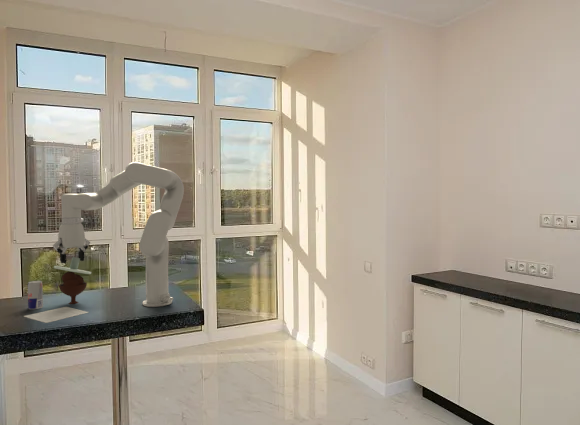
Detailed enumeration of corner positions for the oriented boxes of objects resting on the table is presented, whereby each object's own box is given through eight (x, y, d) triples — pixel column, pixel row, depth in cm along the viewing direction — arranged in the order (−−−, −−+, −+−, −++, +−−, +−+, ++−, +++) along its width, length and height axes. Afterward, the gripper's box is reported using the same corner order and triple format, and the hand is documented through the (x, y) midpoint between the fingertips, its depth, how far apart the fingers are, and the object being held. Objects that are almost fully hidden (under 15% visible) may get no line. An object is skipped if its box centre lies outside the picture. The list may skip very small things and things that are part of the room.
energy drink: (26, 309, 177) (26, 281, 177) (41, 307, 181) (40, 280, 181) (30, 312, 173) (29, 283, 173) (44, 309, 177) (43, 281, 177)
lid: (97, 275, 187) (101, 262, 188) (66, 270, 174) (70, 256, 176) (78, 271, 195) (81, 258, 196) (46, 266, 182) (50, 253, 183)
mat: (89, 314, 170) (89, 312, 169) (46, 325, 155) (46, 322, 155) (65, 308, 179) (65, 306, 178) (23, 318, 164) (22, 316, 164)
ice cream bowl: (76, 308, 179) (75, 273, 178) (53, 307, 181) (52, 273, 180) (92, 302, 189) (91, 269, 189) (71, 301, 191) (70, 268, 191)
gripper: (85, 220, 193) (86, 258, 194) (46, 222, 178) (47, 263, 179) (95, 221, 189) (95, 259, 190) (56, 223, 174) (57, 265, 175)
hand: (72, 261), depth 184 cm, fingers open, 7 cm apart
